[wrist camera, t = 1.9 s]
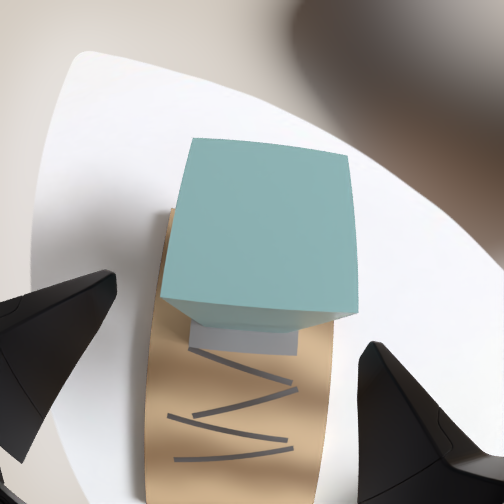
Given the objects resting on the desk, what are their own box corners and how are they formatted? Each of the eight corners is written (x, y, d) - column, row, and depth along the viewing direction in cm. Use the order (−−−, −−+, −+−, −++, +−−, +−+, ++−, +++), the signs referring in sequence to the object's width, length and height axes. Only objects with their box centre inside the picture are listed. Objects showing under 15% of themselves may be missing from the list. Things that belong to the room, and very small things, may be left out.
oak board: (304, 516, 14) (308, 525, 12) (152, 506, 13) (147, 514, 12) (326, 231, 22) (333, 223, 20) (175, 217, 21) (171, 208, 20)
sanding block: (288, 354, 17) (383, 364, 6) (194, 346, 17) (122, 346, 5) (293, 251, 19) (363, 131, 8) (206, 243, 19) (178, 109, 8)
